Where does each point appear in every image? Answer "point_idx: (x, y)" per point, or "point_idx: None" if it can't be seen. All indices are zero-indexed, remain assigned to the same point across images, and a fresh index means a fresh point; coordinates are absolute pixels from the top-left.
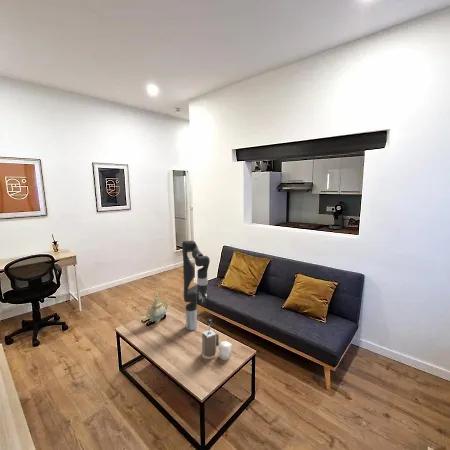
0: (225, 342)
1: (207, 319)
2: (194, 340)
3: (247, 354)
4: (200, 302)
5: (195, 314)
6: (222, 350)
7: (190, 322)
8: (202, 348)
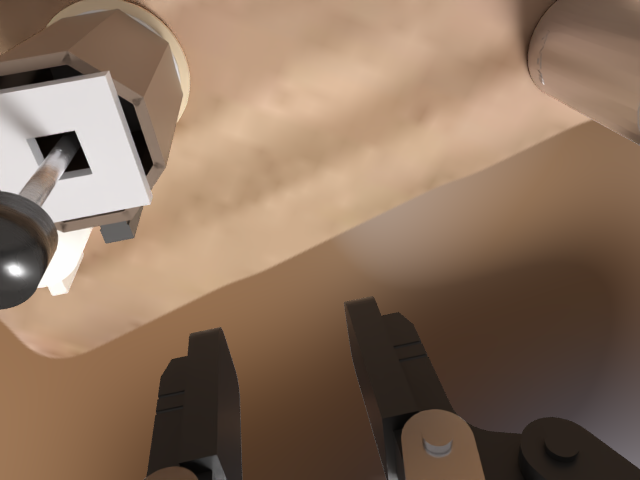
0: (56, 258)
1: (7, 242)
2: (370, 4)
3: (42, 334)
4: (361, 356)
5: (629, 125)
6: None
7: (591, 36)
8: (102, 17)
